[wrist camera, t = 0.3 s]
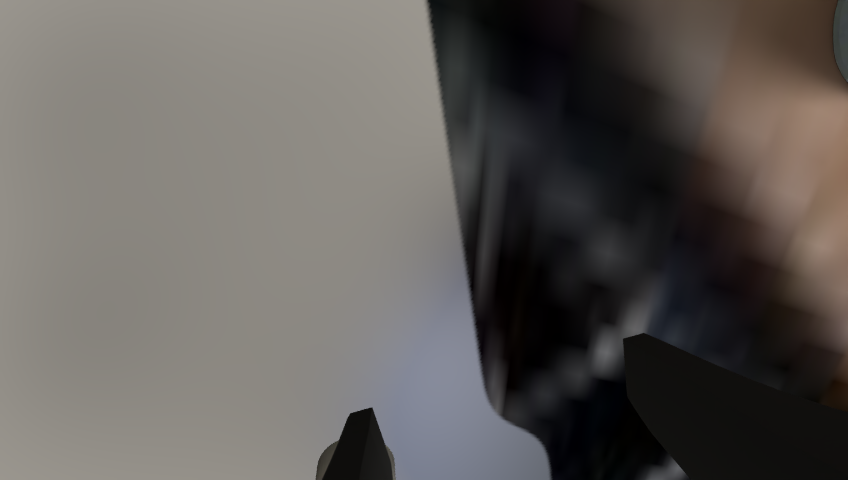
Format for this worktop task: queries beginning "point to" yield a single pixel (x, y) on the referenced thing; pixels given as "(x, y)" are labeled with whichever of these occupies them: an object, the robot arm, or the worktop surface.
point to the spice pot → (328, 455)
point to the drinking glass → (841, 37)
